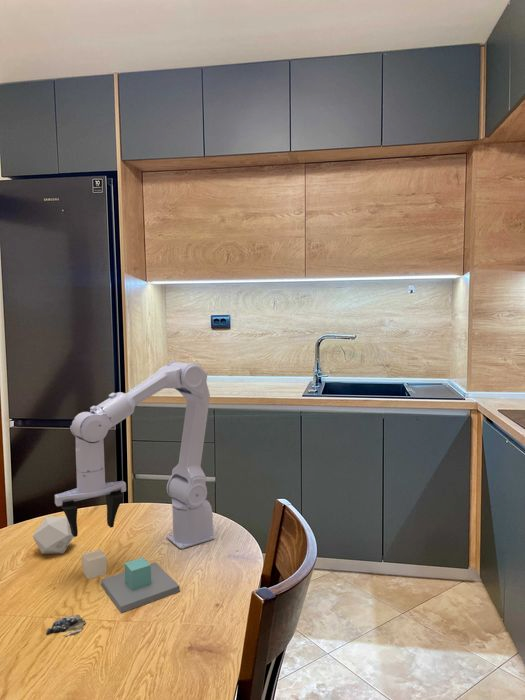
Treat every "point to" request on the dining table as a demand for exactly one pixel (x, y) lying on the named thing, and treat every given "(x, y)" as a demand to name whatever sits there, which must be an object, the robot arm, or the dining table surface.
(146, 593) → the plate
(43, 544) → the die
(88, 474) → the robot arm
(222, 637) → the dining table surface
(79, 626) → the blueberries
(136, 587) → the teal cube
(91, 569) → the cream cube
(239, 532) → the dining table surface
